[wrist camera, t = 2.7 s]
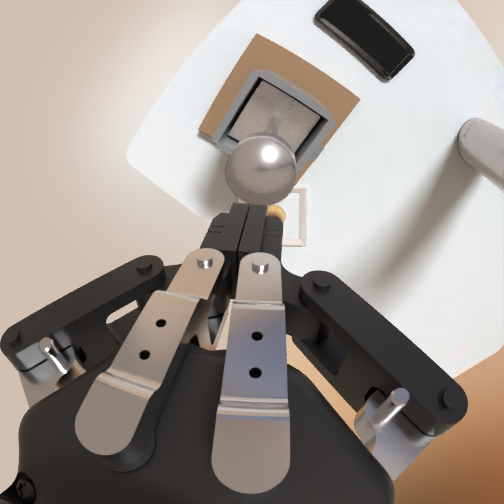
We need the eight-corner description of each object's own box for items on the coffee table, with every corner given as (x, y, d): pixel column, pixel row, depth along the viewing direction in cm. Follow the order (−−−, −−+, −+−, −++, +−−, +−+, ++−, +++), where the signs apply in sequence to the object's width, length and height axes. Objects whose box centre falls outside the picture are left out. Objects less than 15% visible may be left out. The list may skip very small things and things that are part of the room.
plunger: (320, 116, 30) (346, 160, 16) (283, 165, 34) (278, 245, 20) (262, 80, 28) (237, 91, 15) (229, 133, 32) (182, 191, 19)
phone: (388, 82, 35) (312, 16, 30) (385, 82, 35) (311, 18, 31) (417, 52, 30) (344, -14, 26) (415, 53, 31) (342, -12, 27)
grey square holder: (358, 98, 38) (390, 114, 25) (294, 182, 48) (295, 231, 35) (257, 34, 34) (241, 17, 21) (200, 127, 44) (164, 156, 31)
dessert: (305, 242, 55) (306, 257, 51) (243, 242, 57) (239, 256, 53) (307, 184, 48) (308, 196, 44) (237, 184, 50) (232, 196, 46)
